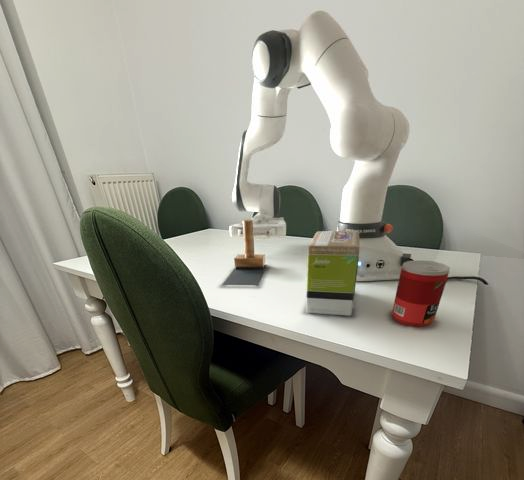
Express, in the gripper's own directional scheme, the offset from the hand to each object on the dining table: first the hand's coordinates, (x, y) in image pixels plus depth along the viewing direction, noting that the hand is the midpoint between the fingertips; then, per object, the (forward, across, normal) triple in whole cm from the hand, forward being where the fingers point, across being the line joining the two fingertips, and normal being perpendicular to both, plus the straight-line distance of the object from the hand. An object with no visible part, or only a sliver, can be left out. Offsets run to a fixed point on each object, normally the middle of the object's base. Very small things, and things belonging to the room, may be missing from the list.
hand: (254, 234), depth 97 cm
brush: (+10, 0, +8) cm, 13 cm away
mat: (+17, 0, +9) cm, 19 cm away
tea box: (+36, +24, +9) cm, 44 cm away
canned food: (+44, +40, +9) cm, 60 cm away
